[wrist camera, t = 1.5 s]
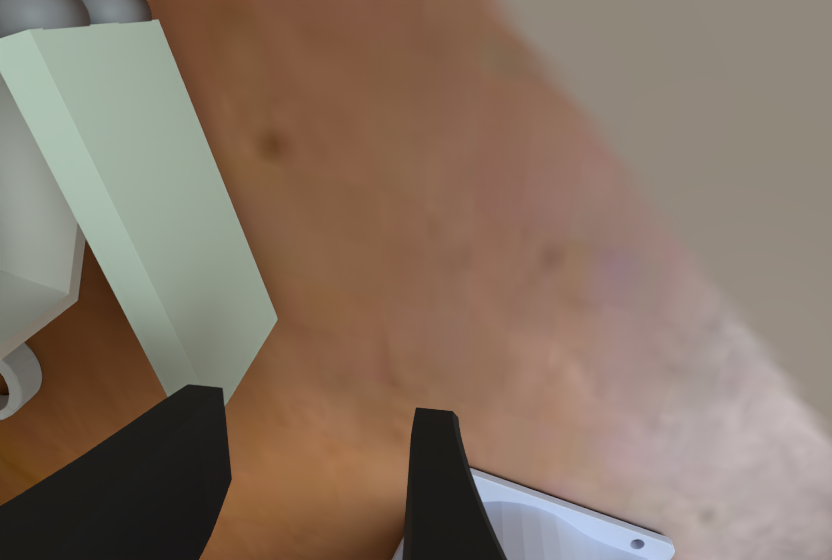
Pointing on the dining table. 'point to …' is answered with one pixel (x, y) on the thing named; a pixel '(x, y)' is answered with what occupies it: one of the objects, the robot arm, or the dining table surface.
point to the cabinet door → (139, 182)
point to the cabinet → (32, 234)
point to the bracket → (19, 379)
